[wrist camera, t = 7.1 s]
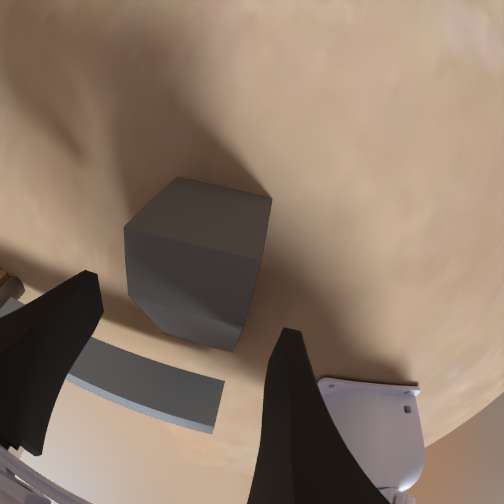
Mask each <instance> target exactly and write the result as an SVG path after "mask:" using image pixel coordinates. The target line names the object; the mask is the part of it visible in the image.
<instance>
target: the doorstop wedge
mask: <svg viewBox="0 0 504 504" xmlns="http://www.w3.org/2000/svg"><path fill="white" fill-rule="evenodd" d="M271 204H272V198H268V197H264V196H260V195H256V194H251V193H247V192H243V191H238V190H234V189H230V188H225V187H221V186H216V185H212V184H207V183H202V182H197V181H192V180H188V179H183V178H178V177H177V178H176V179H174V180H173V181H172V182H171V183H170V184H169V185H168V186H166V187H165V188H164V189H163V190H162V191H161V192H160V193H159V194H158V195H157V196H155V197H154V198H153V199H152V200H151V201H150V202H149V203H148V204H147V205H146V206H145V207H144V208H143V209H142V210H140V211H139V212H138V213H137V214H136V215H135V216H134V217H133V218H132V219H131V220H130V221H129V222H128V223H127V224H126V225H125V226H124V244H125V261H126V274H127V285H128V295H129V296H130V297H131V298H132V300H133V301H134V302H135V303H136V304H137V305H138V306H139V307H140V309H141V310H142V311H143V312H144V313H145V314H146V315H147V316H148V317H149V318H150V319H151V320H152V321H153V323H154V324H155V325H156V326H157V327H158V328H159V329H160V330H161V331H162V332H163V333H164V334H166V335H170V336H173V337H176V338H180V339H183V340H187V341H190V342H194V343H198V344H201V345H205V346H209V347H213V348H217V349H221V350H225V351H229V352H233V350H234V348H235V346H236V343H237V341H238V338H239V336H240V333H241V331H242V328H243V326H244V322H245V318H246V315H247V311H248V308H249V304H250V300H251V297H252V293H253V290H254V286H255V282H256V279H257V275H258V271H259V268H260V264H261V260H262V255H263V249H264V244H265V238H266V232H267V227H268V221H269V215H270V210H271Z"/></svg>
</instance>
